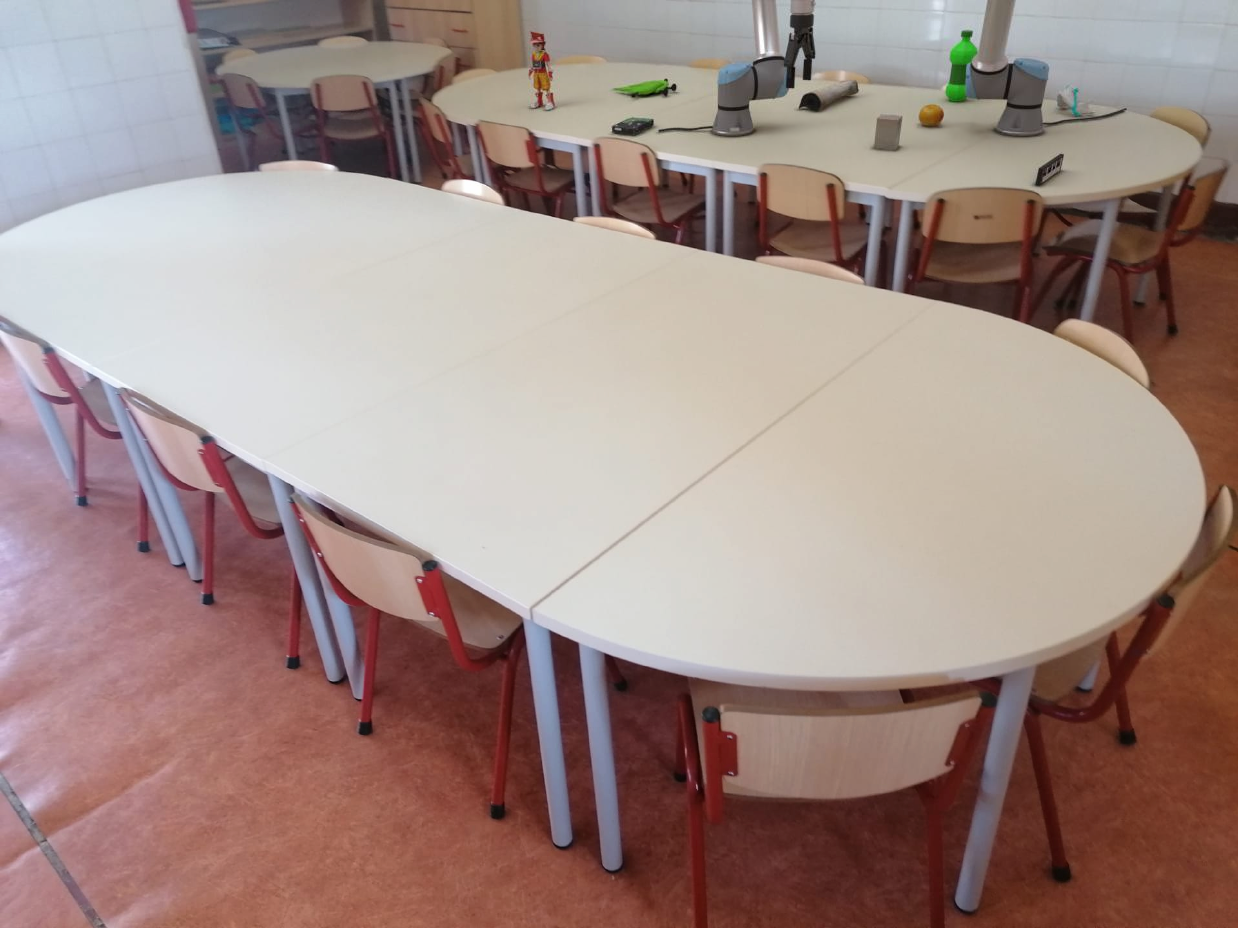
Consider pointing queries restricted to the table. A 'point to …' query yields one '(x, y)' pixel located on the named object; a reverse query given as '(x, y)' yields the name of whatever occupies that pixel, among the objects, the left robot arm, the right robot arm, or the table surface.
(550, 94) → the toy
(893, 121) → the brick
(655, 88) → the toy
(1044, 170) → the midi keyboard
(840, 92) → the rolled mat
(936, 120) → the fruit
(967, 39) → the plastic bottle
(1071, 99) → the anatomical model
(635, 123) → the disk drive
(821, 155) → the table surface
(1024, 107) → the right robot arm
